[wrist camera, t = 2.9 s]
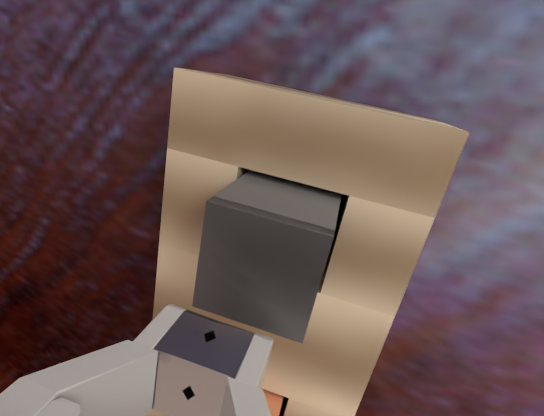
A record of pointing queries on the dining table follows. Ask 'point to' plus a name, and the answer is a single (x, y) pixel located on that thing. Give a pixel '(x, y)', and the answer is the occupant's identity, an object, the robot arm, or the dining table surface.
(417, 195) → the maple housing
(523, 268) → the dining table surface
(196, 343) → the robot arm
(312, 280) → the charcoal plug
